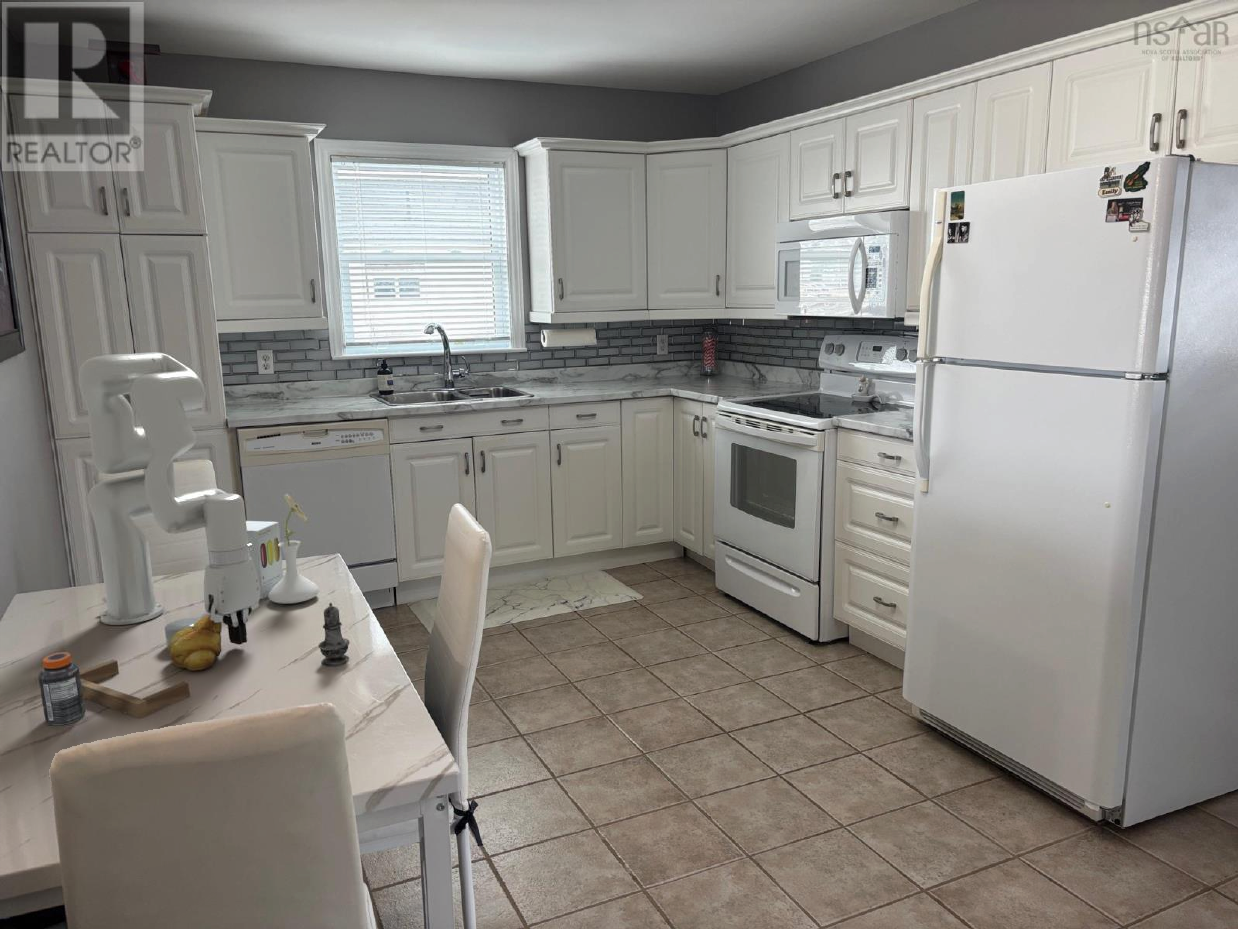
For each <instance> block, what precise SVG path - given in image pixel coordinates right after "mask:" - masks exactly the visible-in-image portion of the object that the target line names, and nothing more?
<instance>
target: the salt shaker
mask: <svg viewBox="0 0 1238 929" xmlns="http://www.w3.org/2000/svg"><path fill="white" fill-rule="evenodd" d="M323 617H324V618H323V620H324V624H323V625H322V628H323V629H324V640H323V641H320V642H319V643H318V646H317V647H318V648H319V650H320V653H321V654H322V655H323V656H324V658H323V659H322V660H321V665H322V666H325V667H337V666H341V665H342V666H343V665H345V664H347V663H348V662H350V657H349V656H348V655H346V653H347V652H348V650H349V645H350V640H349V639H348V638H345V637H343V635H342V628H341V626H343V623H342V622H341V621H340V620H341V619H340V610H339V608H338V606H337V607H336V606H334V605H333V603H332V602H329V604H328V607H326V608H325V609H324V610H323Z"/></svg>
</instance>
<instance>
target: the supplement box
mask: <svg viewBox="0 0 1238 929" xmlns="http://www.w3.org/2000/svg"><path fill="white" fill-rule="evenodd" d="M246 526H247V536H248V544H251V545H252V546H253V549H252V550H250V551H249V555H250V557H251V558H252V560H253V562H254V565H255V569H256V572H257V577H258V582H259V589H260V600H264V599H266V598H268V595H269V592H270V590H271V589H272V588H273V587H274V586H275V585H276V584H277V583H278V582H279V581H281V580H282V579H283V578H284V568H283V558H282V549H281V548H280V547H279V546H278V544H279V543H281V537H280V536H281V535H280V525H279V521H264V520H263V521H262V520H259V521H258V520H246Z"/></svg>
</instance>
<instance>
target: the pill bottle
mask: <svg viewBox="0 0 1238 929" xmlns="http://www.w3.org/2000/svg"><path fill="white" fill-rule="evenodd" d="M42 666H43V669H42V670H41V671H40V672H39V674H38V685H39V689H40V691H39V692H40V697H41V703H42V709H43V716H44V719H45V720H44V721H45V723H46V724H48V725H50V726H62V725H66V724H71V723H74V722H76V721H79V720H80V719H81V718H83V717H84V716H85V715H86V705H85V700H84V699H85V698H84V697H83V691H82V685H81V678H80V668H79V666H78V664H76V663H72V657H71V654H70V652H64V651H63V652H56V653H52V654H50V655H49V654H48V655H46V656H45V657H44V658H42Z"/></svg>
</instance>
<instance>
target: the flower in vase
mask: <svg viewBox="0 0 1238 929" xmlns="http://www.w3.org/2000/svg"><path fill="white" fill-rule="evenodd" d="M284 499H285V500H286V502H287V504H288V505H289V507H290V511H289V513H288V516H287V518H286V521H285V524H284V529H285V536H284V538H285V539H287V540H286V541H282V542H280V543H279V544H278V546H279V547H280V548H281V552H282V553H283V555H284V559H285V566H286V567H285V568H286V572H285V575H283V579H282V580H281V581H279V582H278V583H277V584H276V585H275V586H274V587H273V588H272V589H271V590H270V592H269V595H268V597H267V598H268V599H269V600H270V601H271V602H273V603H277V604H283V605H284V604H285V605H286V604H297V603H302V602H306V601H309V600H311V599H313V598H314V597H316V596H318V593H319V592H320V589H319V586H318V585H317V584H316V583H314V582H313V581H311V580H309V579H308V578H307V577H304V576H303V575H301V574H300V573H299V571H298V567H297V552H298V549H299V547H300V545H301V544H302V543H301V541H300V540H289V539H290V537H291V536H292V535H294V534H295V531H293V530H289V529H288V522H289V519H290V517H291V515H292V513H295V514H296V515H297V516H298V517H299V518H300V519H301V520H302V521H303V522H307V520H308V517H307V516H306V514H305V512H303V511H302V510H301V509H300V505H299V504H298V503H297V502H295V501H294V499H293V498H292V496H291V495H289V494H288V493H286V494H284Z"/></svg>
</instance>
